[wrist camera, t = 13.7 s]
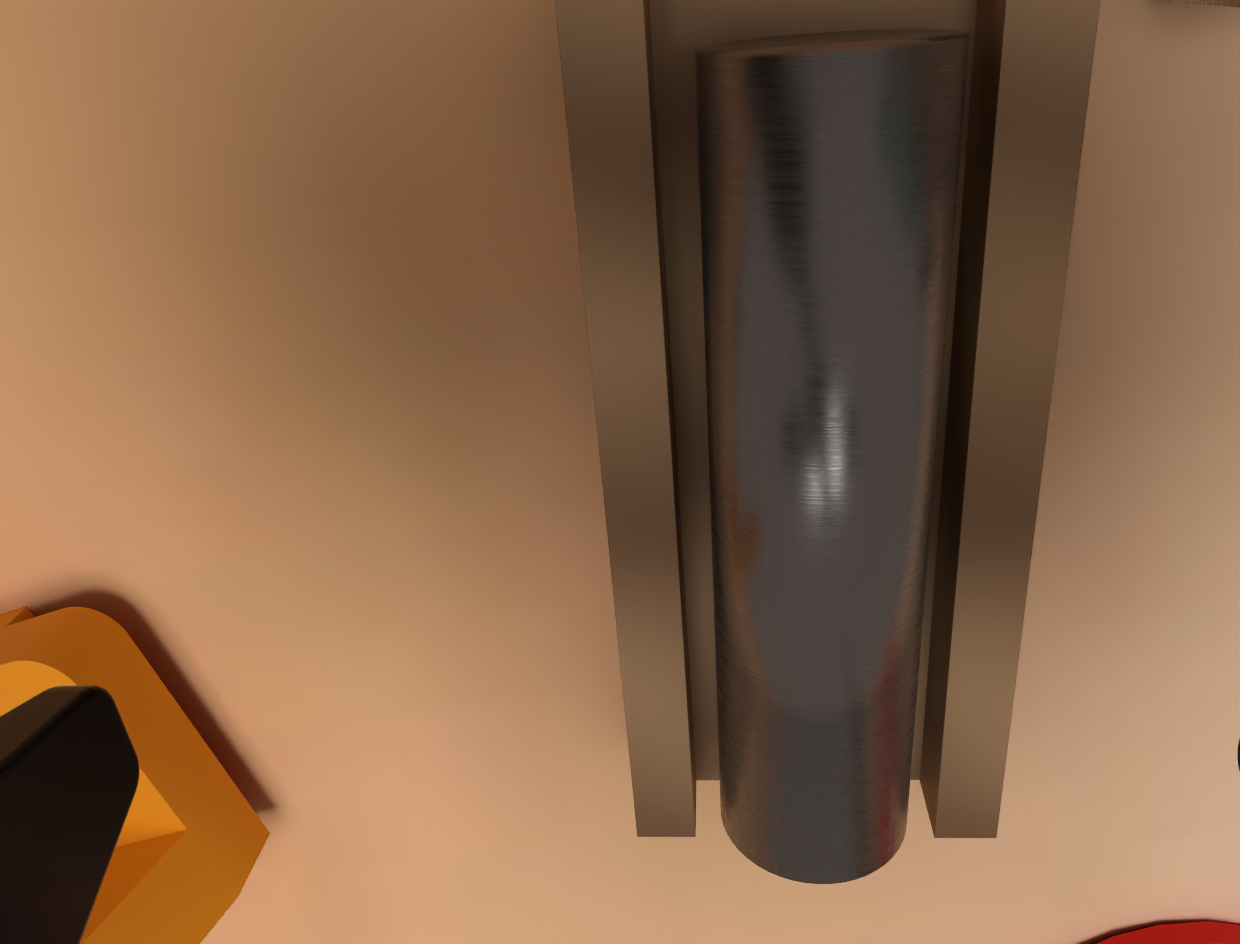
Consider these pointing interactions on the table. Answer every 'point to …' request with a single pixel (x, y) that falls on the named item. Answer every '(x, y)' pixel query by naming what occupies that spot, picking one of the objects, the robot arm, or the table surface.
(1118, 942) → the tow hook
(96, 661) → the bracket
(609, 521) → the rail
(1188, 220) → the table surface
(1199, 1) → the socket
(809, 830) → the rod
